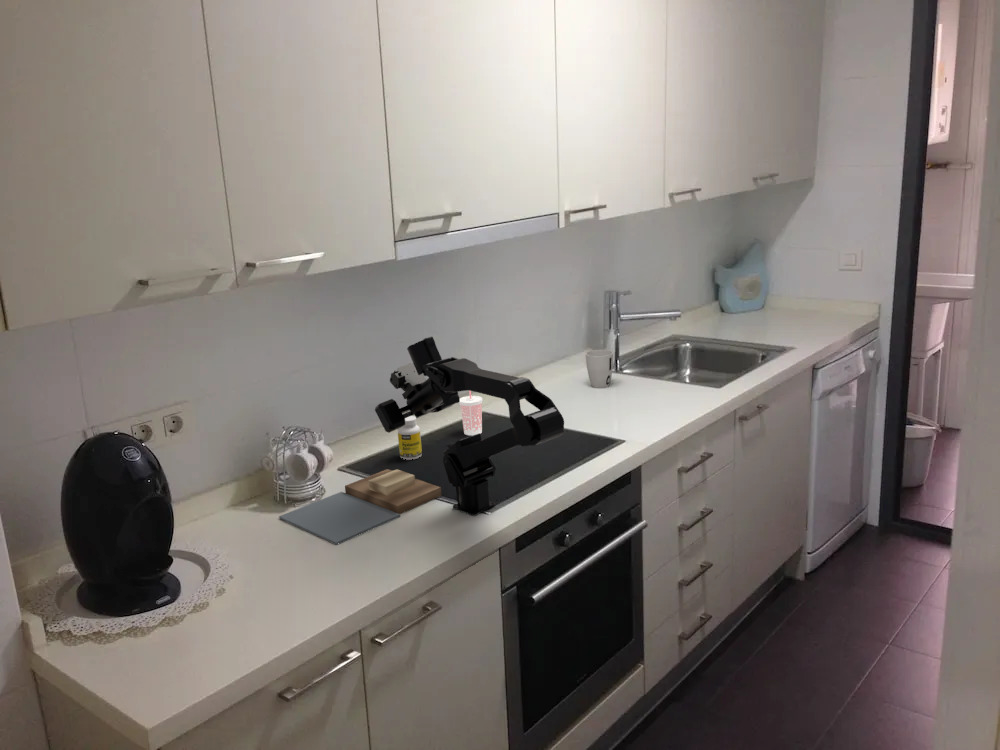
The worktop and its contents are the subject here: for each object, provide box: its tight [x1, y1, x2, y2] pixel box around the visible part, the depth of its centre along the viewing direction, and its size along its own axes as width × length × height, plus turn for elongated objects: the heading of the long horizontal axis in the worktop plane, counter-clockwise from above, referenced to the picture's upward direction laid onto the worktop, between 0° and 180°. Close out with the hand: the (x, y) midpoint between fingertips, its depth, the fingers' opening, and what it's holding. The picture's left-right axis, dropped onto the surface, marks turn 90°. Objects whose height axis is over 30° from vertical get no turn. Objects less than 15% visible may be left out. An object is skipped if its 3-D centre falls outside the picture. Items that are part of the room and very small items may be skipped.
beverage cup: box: [458, 391, 483, 436], centre depth 230 cm, size 6×6×14 cm
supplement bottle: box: [397, 415, 423, 461], centre depth 216 cm, size 5×5×10 cm
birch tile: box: [368, 468, 416, 496], centre depth 194 cm, size 6×8×2 cm
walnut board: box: [344, 468, 442, 515], centre depth 195 cm, size 18×12×2 cm, turn 46°
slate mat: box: [278, 491, 401, 546], centre depth 185 cm, size 20×16×1 cm
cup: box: [585, 349, 614, 389], centre depth 264 cm, size 8×8×10 cm
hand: (399, 418), depth 200 cm, fingers open, 9 cm apart
